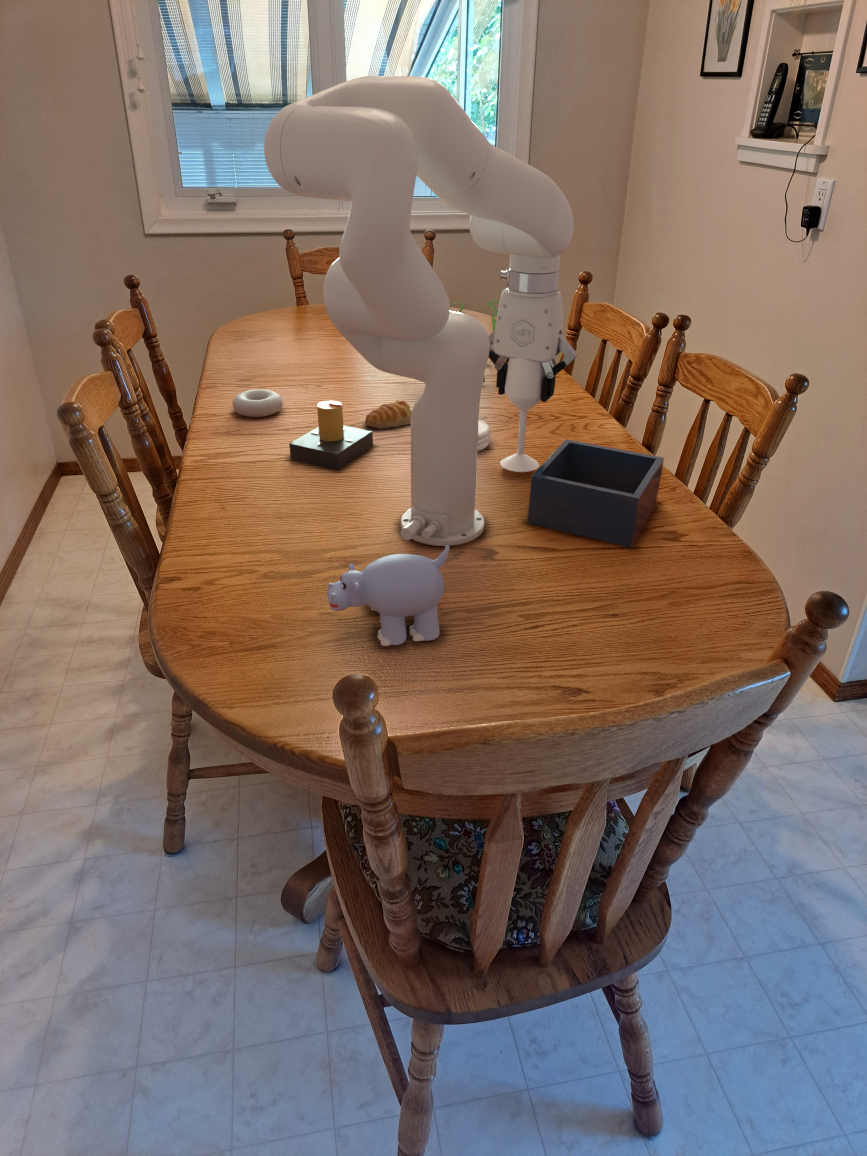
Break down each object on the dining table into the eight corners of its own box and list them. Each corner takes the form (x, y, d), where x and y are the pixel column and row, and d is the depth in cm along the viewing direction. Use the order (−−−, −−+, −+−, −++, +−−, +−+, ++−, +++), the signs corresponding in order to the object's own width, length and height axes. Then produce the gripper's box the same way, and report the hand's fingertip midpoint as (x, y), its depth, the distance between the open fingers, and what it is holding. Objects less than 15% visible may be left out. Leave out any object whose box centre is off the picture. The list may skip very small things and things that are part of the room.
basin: (630, 547, 113) (639, 498, 109) (527, 523, 119) (531, 475, 114) (655, 503, 125) (664, 457, 121) (560, 483, 131) (565, 439, 127)
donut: (254, 400, 164) (222, 414, 157) (253, 384, 163) (220, 397, 155) (293, 408, 160) (262, 423, 153) (291, 392, 159) (260, 405, 151)
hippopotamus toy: (325, 603, 100) (320, 539, 95) (439, 590, 103) (440, 526, 98) (335, 654, 91) (330, 585, 86) (459, 637, 94) (462, 570, 89)
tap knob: (314, 438, 138) (311, 404, 135) (327, 430, 142) (325, 397, 138) (335, 443, 137) (333, 408, 133) (348, 434, 140) (346, 401, 137)
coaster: (494, 436, 148) (495, 419, 146) (482, 457, 140) (483, 438, 138) (443, 431, 150) (443, 413, 148) (429, 450, 142) (429, 432, 140)
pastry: (377, 433, 149) (376, 414, 147) (357, 423, 153) (357, 405, 151) (416, 423, 154) (416, 404, 152) (396, 413, 158) (395, 395, 156)
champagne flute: (546, 468, 132) (559, 325, 120) (510, 474, 130) (520, 328, 117) (527, 453, 138) (539, 314, 125) (493, 459, 135) (501, 318, 123)
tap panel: (338, 470, 134) (337, 453, 133) (290, 459, 138) (288, 442, 137) (373, 446, 144) (372, 430, 142) (327, 436, 147) (326, 420, 146)
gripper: (470, 280, 118) (466, 394, 128) (580, 293, 112) (568, 412, 121) (490, 271, 124) (485, 381, 134) (595, 283, 117) (582, 397, 127)
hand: (524, 395), depth 127 cm, fingers closed on champagne flute, 6 cm apart
